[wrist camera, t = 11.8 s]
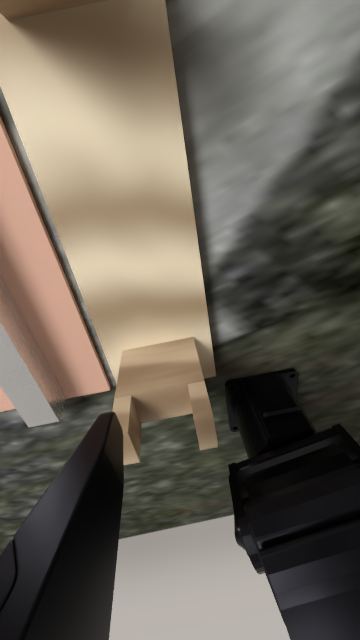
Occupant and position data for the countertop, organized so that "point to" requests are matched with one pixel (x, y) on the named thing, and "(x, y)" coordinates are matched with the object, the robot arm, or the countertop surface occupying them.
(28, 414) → the steel rail
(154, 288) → the hook stand
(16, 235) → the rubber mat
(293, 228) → the countertop surface
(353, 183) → the countertop surface
